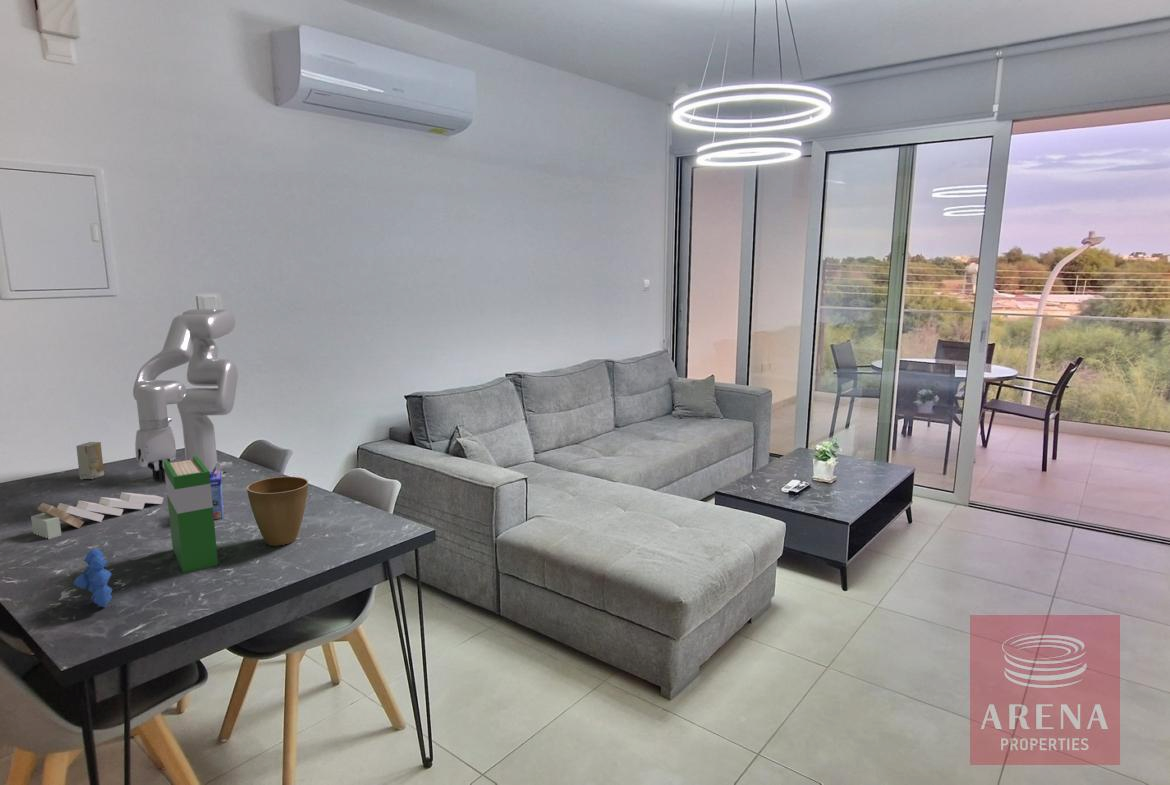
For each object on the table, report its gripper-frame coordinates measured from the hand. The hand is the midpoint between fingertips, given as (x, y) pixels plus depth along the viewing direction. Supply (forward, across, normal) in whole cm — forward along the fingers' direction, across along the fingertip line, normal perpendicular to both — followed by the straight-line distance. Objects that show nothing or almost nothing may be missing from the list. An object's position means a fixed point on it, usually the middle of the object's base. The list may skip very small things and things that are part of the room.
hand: (159, 481), depth 207 cm
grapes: (+7, +47, +54) cm, 72 cm away
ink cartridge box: (+7, 0, +26) cm, 26 cm away
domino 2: (+6, +18, 0) cm, 19 cm away
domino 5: (+6, +1, 0) cm, 6 cm away
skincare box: (+7, -4, -47) cm, 47 cm away
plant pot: (+7, +4, +60) cm, 61 cm away
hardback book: (+7, +22, +50) cm, 55 cm away
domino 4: (+6, +7, 0) cm, 9 cm away
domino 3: (+6, +13, 0) cm, 14 cm away
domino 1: (+6, +24, 0) cm, 25 cm away
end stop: (+7, +31, 0) cm, 32 cm away
